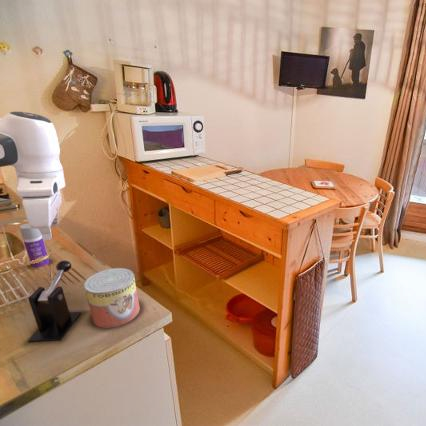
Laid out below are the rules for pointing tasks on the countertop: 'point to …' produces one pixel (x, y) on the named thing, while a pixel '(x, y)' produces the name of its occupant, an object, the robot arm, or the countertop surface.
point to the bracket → (51, 316)
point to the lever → (54, 281)
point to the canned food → (112, 297)
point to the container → (34, 244)
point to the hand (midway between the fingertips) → (51, 231)
